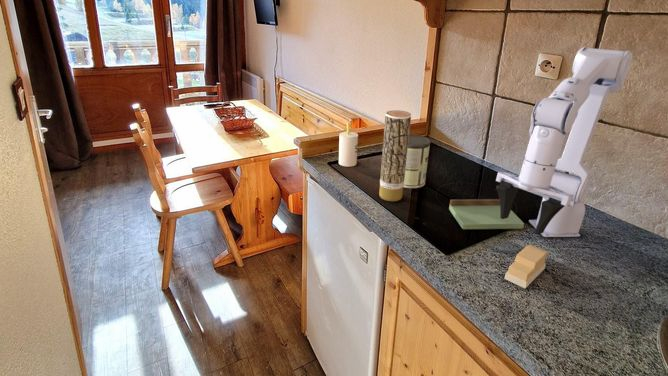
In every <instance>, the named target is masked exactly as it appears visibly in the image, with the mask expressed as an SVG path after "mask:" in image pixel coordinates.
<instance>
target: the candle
mask: <svg viewBox="0 0 668 376" xmlns="http://www.w3.org/2000/svg"><path fill="white" fill-rule="evenodd" d="M338 137H339V138H338V139H339V141H338V164H339V165H340V166H342V167H349V168H350V167H354V166H356V165H358V151H359V148H358V147H359V144H358V143H359V134H358V133H357V132H355V131H354V132H353V131H351V125H350V123H349V121H346V131H342V132H340V133H339V136H338Z"/></svg>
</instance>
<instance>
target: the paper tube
mask: <svg viewBox="0 0 668 376" xmlns="http://www.w3.org/2000/svg"><path fill="white" fill-rule="evenodd" d="M411 121H412V113H411V112H409V111H405V110H397V109H396V110H395V109H394V110H388V111H386V112H385V116H384V129H383V141H382V142H383V143H382V152H381V153H382V154H381V164H380V165H381V166H380V179H379V190H378V191H379V192H378V194H379V198H380V199H382V200H383V201H385V202H392V203H393V202H398V201H401V200H402V198H403V195H404V187H403V186H404V178H405V168H406V159H407V150H408V141H409V135H410V131H411Z"/></svg>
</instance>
